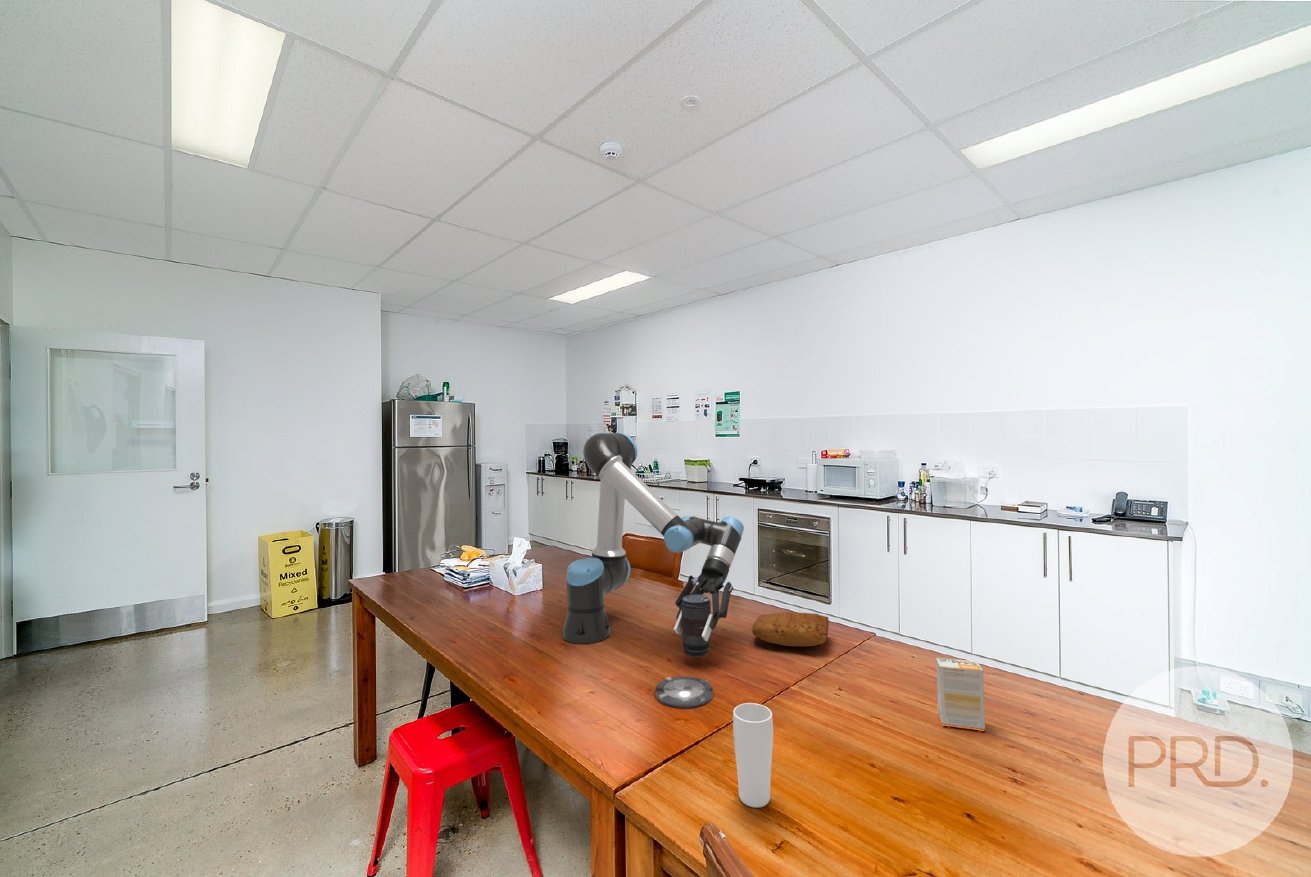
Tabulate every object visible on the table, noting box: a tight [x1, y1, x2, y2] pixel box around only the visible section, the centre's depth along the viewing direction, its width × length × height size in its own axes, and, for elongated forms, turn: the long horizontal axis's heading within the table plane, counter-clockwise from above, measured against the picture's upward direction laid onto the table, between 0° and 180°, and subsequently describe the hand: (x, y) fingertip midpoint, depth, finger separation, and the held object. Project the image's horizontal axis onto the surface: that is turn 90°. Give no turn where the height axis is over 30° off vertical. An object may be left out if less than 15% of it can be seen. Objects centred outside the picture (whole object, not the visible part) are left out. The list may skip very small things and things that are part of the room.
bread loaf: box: [751, 611, 830, 648], centre depth 161 cm, size 22×17×8 cm
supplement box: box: [935, 657, 986, 731], centre depth 114 cm, size 8×5×13 cm, turn 71°
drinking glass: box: [732, 702, 774, 809], centre depth 92 cm, size 7×7×15 cm
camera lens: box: [681, 594, 712, 658], centre depth 148 cm, size 8×8×15 cm
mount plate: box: [654, 675, 714, 709], centre depth 130 cm, size 14×14×2 cm
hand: (690, 635), depth 146 cm, fingers closed on camera lens, 8 cm apart
